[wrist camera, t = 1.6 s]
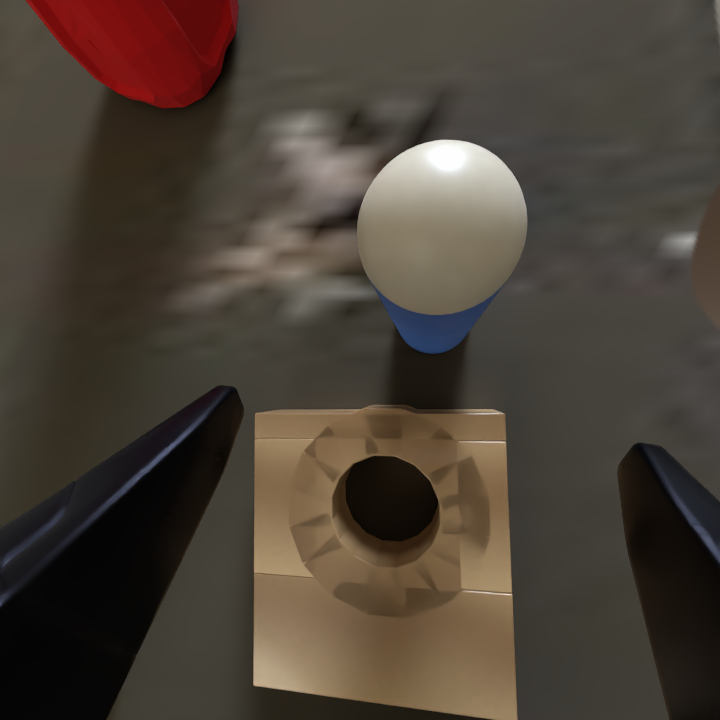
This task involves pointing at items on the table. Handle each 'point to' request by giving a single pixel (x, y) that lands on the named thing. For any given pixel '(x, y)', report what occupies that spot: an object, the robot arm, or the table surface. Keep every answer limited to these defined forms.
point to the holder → (385, 563)
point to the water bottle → (146, 43)
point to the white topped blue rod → (441, 239)
